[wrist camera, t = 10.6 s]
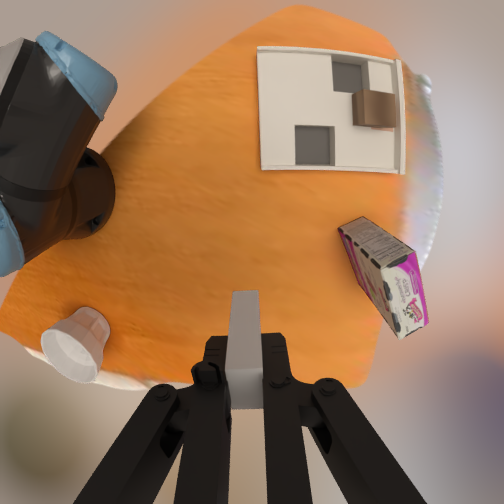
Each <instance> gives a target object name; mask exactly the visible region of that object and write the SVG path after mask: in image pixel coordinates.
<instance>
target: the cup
mask: <svg viewBox="0 0 504 504" xmlns="http://www.w3.org/2000/svg"><path fill="white" fill-rule="evenodd" d="M109 335H110V327H109V325H108V322H107V320H106V319H105V318H104V317H103V315H102V314H101V313H99V312H98V311H96V310H95V309H92V308H90V307H81V308H79V309H78V310H77V311H76V312H75V313H74V314H72V315H71V316H69V317H68V318H66V319H65V320H60V321H58V322H57V323H55V324H54V325H53V326H52V327H50V328H49V329H48V330H46V331H45V332H44V333H42V337H41V345H42V349H43V352H44V354H45V356H46V357H47V359H48V361H49V362H50V363H51V364H52V365H53V367H54V368H55V369H56V370H57V371H59V372H60V373H61V374H62V375H64V376H65V377H67V378H68V379H71V380H73V381H75V382H78V383H86V384H88V383H91V382H93V381H95V380H96V377H97V375H98V373H99V370H100V367H101V364H102V361H103V349H104V346H105V343H106V341H107V339H108V337H109Z"/></svg>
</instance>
